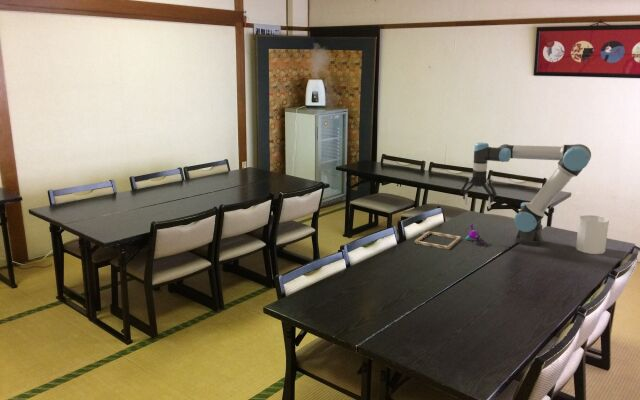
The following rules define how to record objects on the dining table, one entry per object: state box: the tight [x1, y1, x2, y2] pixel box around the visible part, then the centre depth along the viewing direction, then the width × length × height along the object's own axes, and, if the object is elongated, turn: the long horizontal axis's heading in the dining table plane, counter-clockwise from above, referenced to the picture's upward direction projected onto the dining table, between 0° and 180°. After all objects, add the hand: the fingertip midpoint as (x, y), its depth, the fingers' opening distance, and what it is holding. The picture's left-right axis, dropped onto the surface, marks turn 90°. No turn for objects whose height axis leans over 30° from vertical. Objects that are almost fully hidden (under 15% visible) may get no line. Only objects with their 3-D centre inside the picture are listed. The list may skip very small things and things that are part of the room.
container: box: [575, 214, 610, 255], centre depth 295 cm, size 14×14×18 cm
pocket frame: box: [413, 230, 462, 250], centre depth 312 cm, size 23×22×2 cm
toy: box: [465, 223, 484, 244], centre depth 312 cm, size 12×10×15 cm
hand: (477, 206), depth 308 cm, fingers open, 13 cm apart
